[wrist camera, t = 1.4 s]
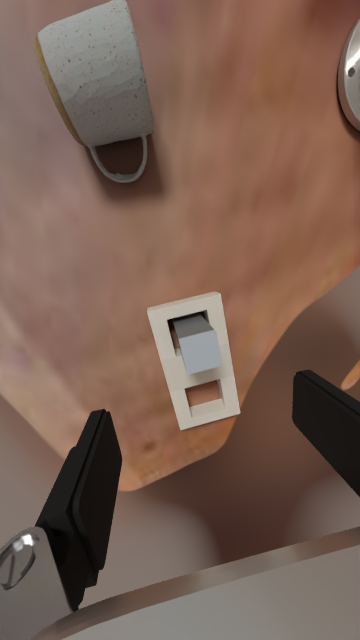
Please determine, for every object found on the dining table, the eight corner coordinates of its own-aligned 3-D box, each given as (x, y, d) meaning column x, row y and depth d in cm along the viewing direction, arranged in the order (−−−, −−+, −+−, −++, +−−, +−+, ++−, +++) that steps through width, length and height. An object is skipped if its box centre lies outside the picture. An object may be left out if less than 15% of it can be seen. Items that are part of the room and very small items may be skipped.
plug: (198, 312, 29) (216, 331, 20) (203, 336, 30) (222, 365, 21) (172, 319, 29) (179, 341, 20) (178, 343, 30) (187, 374, 21)
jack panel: (215, 291, 28) (220, 293, 26) (234, 403, 34) (240, 413, 31) (147, 307, 28) (147, 311, 25) (178, 418, 33) (180, 430, 31)
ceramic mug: (57, 83, 20) (2, -17, 13) (132, 63, 21) (120, -48, 13) (99, 195, 24) (74, 165, 16) (163, 176, 24) (167, 138, 16)
